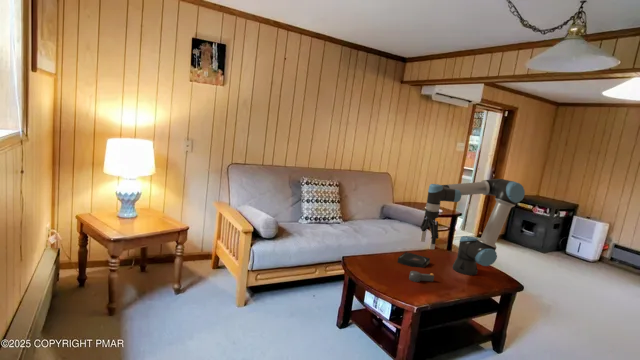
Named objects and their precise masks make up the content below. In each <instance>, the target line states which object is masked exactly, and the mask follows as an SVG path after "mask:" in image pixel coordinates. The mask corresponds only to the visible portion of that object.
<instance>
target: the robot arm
mask: <svg viewBox="0 0 640 360" xmlns="http://www.w3.org/2000/svg"><path fill="white" fill-rule="evenodd" d="M525 194H526V191H525V188H524V186H523V185H522V184H521V183H519V182H517V181H513V180H509V179H504V178H492V179H484V180H480V181H476V182H466V183H465V182H463V183H450V184H439V183H438V184H437V183H431V184H429V187H428V190H427V199H426V204H425V212H424V216H423V221H422V222H421V225H420V230H421V233H420V242H421V243H425V242H426V238H427V237H426V236H427V231H428V228H430V234H431V236H430V241H429V242H430V243H429V248H428V249H429V250H435V248H436V241H437V239H439V226H438V225H439V221H437V220H436V219H438V218H439V214H440V213H439V211H440V207H441V202H451V203H458V202H460V201H461V199H462V196H470V195H484V196H494V200H495V204H494V207H493V209H492V211H491V213H490V216H489V218H488V221H487V222H486V224H485V225H486V226H485V228H484V229H483V232H482V234H481V235H480V236H481V237H475V236H470V235H469V236H468V235H463V236H461V237H460V238H459V239H460V240H459V245H458V248H457V249H458V251H457V254H456V255H457V257H456V259H455V260H454V263H453V264H452V266H451V268H452V270H453V271H455V272H456V273H459V274H464V275H467V276H475V275H477V274H478V266H477V265H481V266H482V267H489V266H490V265H493V264H494V263H496V260H497V258H498V254H497V245H496V243H497V240H498V238H499V236H500V234H501V232H502V230H503V226H504V224H505V222H506V221H507V217H508V216H509V214H510V211H511V210H512V208H513V207H515V206H516V204H518V203H520V202H521V201H523V199H524V197H525Z"/></svg>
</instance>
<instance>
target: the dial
mask: <svg viewBox="0 0 640 360" xmlns="http://www.w3.org/2000/svg"><path fill="white" fill-rule="evenodd" d="M408 276H409V277H408V280H409V281H410V282H414V283H420V282H434V279H435V275H434V273H432V272H431V273H421V272H419V271H416V270H411V271H410V272H409V275H408Z"/></svg>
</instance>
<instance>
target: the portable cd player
mask: <svg viewBox="0 0 640 360" xmlns="http://www.w3.org/2000/svg"><path fill="white" fill-rule="evenodd" d="M396 263H398V264H400V265H404V266H407V267H411V268H422V269H423V268H424V269H425V268H426V267H428V265H429V264H430V263H431V259H430V258H429V257H426V256H424V255H423V256H422V255H419V254H416V253H412V252H409V251H405V252H404V253H402V254H401V255H400V256H398V257H397V262H396Z"/></svg>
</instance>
